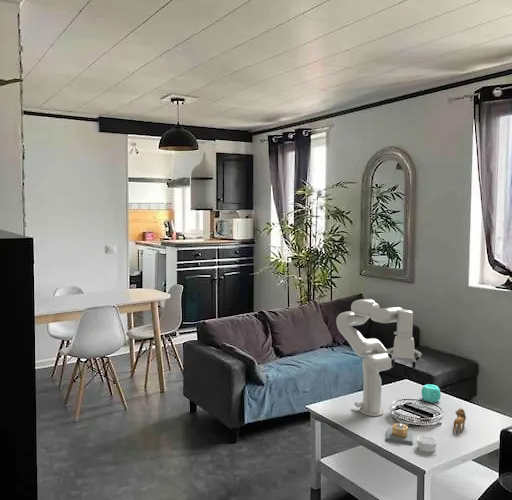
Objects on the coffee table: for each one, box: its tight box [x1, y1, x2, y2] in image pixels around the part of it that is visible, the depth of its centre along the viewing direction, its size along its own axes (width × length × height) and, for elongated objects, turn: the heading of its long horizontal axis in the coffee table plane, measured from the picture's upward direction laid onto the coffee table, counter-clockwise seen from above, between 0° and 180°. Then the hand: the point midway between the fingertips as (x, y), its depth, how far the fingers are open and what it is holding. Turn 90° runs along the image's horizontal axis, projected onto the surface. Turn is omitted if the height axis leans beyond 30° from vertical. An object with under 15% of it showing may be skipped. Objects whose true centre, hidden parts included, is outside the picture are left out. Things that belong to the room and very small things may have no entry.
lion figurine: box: [452, 407, 467, 434], centre depth 268 cm, size 15×5×9 cm, turn 154°
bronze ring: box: [392, 422, 409, 438], centre depth 258 cm, size 7×7×4 cm
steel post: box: [396, 422, 404, 429], centre depth 257 cm, size 4×4×5 cm
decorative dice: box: [421, 383, 442, 403], centre depth 308 cm, size 8×8×8 cm
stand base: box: [385, 427, 414, 445], centre depth 258 cm, size 12×12×2 cm
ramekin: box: [416, 435, 438, 453], centre depth 246 cm, size 9×9×4 cm
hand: (403, 368), depth 269 cm, fingers open, 9 cm apart
